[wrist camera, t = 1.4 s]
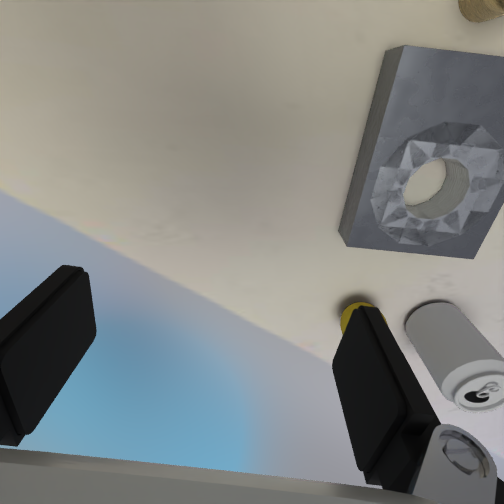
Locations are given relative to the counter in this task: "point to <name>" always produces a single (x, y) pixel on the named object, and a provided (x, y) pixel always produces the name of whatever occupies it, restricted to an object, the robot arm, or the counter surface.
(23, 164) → the counter surface
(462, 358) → the can
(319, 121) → the counter surface
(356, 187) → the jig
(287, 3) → the counter surface
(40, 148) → the counter surface
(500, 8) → the cylinder
